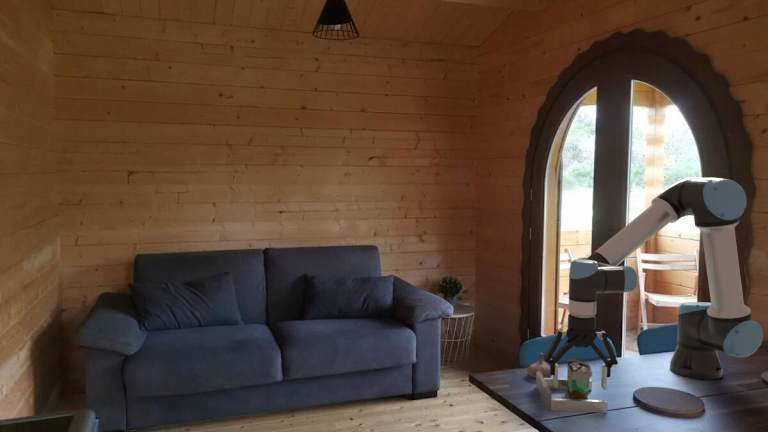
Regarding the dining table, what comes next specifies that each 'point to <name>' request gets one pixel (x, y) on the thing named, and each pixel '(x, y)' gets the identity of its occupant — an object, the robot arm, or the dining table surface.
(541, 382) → the rail dock
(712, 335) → the robot arm
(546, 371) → the garlic bulb
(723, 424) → the dining table surface
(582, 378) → the food container
